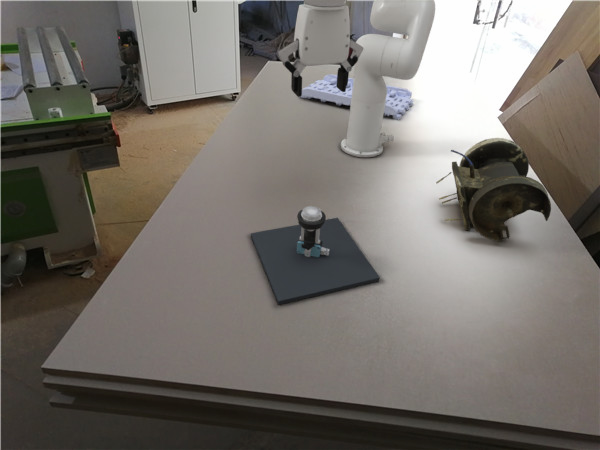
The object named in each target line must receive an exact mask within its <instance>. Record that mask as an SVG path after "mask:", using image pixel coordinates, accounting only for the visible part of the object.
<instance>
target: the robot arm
mask: <svg viewBox="0 0 600 450" xmlns="http://www.w3.org/2000/svg"><path fill="white" fill-rule="evenodd" d="M347 2H348V0H303V3H302V4H299V5H298V10H297V16H296V20H295V27H294V36H293V37H294V38H293V41H292V42H291V43H290V44H287V45H286V46H285V47H283V48H282V49H280V50H278V52H277V55H278V57H279V59H280V61H281V62H282V65H283V67H285V68H286V69H287V70H288V72H289V73H290V74H291V84H290V85H291V86H290V89H291V91H292V92H293V93H294V94H295V95H296V97H298V98H300V97H301V96H302V89H303V76H301V73H303V71H304V70H305V68H306V67H313V66H325V65H339V66H340V67H338V69H337V74H336V75H337V88H338V89H339V90H341V91H342V92H345V91H346V86H347V85H348V78H349V76H350V75H349V73H350V72H351V71H353V79H354V80H353V91H352V99H351V106H350V107H349V116H348V124H347V132H346V133H347V134H346V138H343V139H342V141H341V142H340V148H341V150H342V151H343V152H344V153H346V154H347V155H350V156H353V157H357V158H375V157H378V156H379V155H381V154H382V153H383V151H384V145H383V144H385V143H390V142H393V141H394V140H395V137H394V135H393V134H386V132H381V131H382V127H383V126H382V125H383V119H384V115H385V113H384V108H385V102H386V97H387V87H386V85H387V84H386V82H385V79H384V78H385V77H386V78H390V79H396V80H401V81H409V80H412V79H413V78H414V77H416V75H417V73H418V72H419V69H420V67H421V63H422V60H423V56H424V54H425V50H426V47H427V43H428V40H429V37H430V34H431V31H432V28H433V24H434V20H435V15H436V1H435V0H373V3H372V7H371V10H370V16H369V22H370V25H371V27H372V28H373V29H374V30H376V31H379V32H385V33H391V34H396V35H404V36H407V38H403V37H397V36H396V37H395V36H390V35H385V34H378V33H366V34H364V35H362V36H360V37H359V38H358V39H357V40H356V41H354V40H352V39H351V22H350V11H349V10H350V9H349V6H348V5H346V4H347ZM350 49H352V53H351V54H350V55H349V53H350ZM292 54H293V57H294V59H295V60H294V61H293V63H291V61H290V58H289V57H290V56H291V55H292Z"/></svg>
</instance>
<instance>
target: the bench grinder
mask: <svg viewBox="0 0 600 450" xmlns="http://www.w3.org/2000/svg"><path fill="white" fill-rule="evenodd" d="M450 152H451V153H455V154H457V155H459V156H462V157H461V160H460V163H459V165H458V162H457V161H451V170H452V171H450V172H449V173H448V174H446V175H445V176H444V177H442V178H440V179H438V180H437V181H436V185H437V184H439V183H440V182H442V181H443V180H444V179H445V178H447V177H448V176H449V175H451V174H452V175H453V177H454V183H455V184H454V185H455V188H456V189H455V190H456V192H455V193H452V194H448V195H445V196H441V197H438V200H444V199H446V198H448V197H451V196H454V195H456V197H454V198H450V199H446V200H444V201H441V204H445V203H448V202H451V201H453V200H456V199H457V201H458V205H459V209H460V214H461V218H444V221H448V222H452V221H462V223H463V226H464V230H465V231H468V230H471V224H472V226H473V229H474V230H475V231H476V232H477V233H478V234H479V235H481V236H482V237H484V238H485V239H487V240H491V241H495V242H500V243H501V242H503V240H509V239H510V231H509V226H507V225H505V223H507V222H508V221H509V220H510V219H512V218H515V217H517V216H519V215H521V214H523V213H526V212H527V211H533V212H537V213H541V214H542V215H543V218H544V220H545V222H548V220H549V219H550V215H551V211H552V203H551V200H550V198H549V194H548V191H547V190H546V187H545V186H543V184H542V183H540V181H538V180H536V179H535V178H532V177H530V176H528V173H529V169H530V163H529V158H528V156H527V155H526V153H525V151H524V150H523V148H521V146H520V145H519V144H518V143H516V142H515V141H513V140H511V139H507V138H504V137H492V138H485V139H484V140H481V141H479V142H477V143H475V144H474V145H472V146H471V147H470V148H469V149H467V150H466V151H465V153H461V152H459V151H456V150H454V149H451V150H450ZM504 231H505V235H504ZM505 236H506V237H505Z"/></svg>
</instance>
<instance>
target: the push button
mask: <svg viewBox="0 0 600 450" xmlns="http://www.w3.org/2000/svg"><path fill="white" fill-rule="evenodd" d="M296 216H297V217H296V218H297V221H298V225H301V226H302V227H301V236H300V238H299V240H298V243H297V253H301V254H305V256H307V257H310V256H315V257H319V256H320V254H321V255H323V254H324V255H329V253H328V252H329V249H326V248H324V247H322V243H323V242H322V241H321V240H319V235H320V228H321V227H322V226H323V224H324V222H325V220H327V215H326V213H325V212H324V211H323V210H321V209H320V208H319V207H317V206H314V205H313V206H311V205H309V206H306V207H304V208H303V209H301V210H299V211H298V213H297V215H296ZM305 229H306V232H305ZM315 231H316V232H315ZM326 250H327V251H326ZM324 251H326V252H324ZM325 253H327V254H325Z"/></svg>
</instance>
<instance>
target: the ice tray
mask: <svg viewBox="0 0 600 450" xmlns="http://www.w3.org/2000/svg"><path fill="white" fill-rule="evenodd" d="M353 80H354V77H348V85H347V86H346V91H345V92H342V91H341V90H339V89H338V88H337V74H333V73H330V74H326V75H324V77H323V79H321V80H320V79H317V80H315V81H314V83H310V84H308V86H305V87H302V96H301V97H299V98H300V99H308V100H310V99H313V98H314V99H318V100H320V101H321V103H322V102H323V103H326V102H332V103H335V104H336V106H341V105H345V106H350V107H351V99H352V91H353ZM386 87H387V97H386V102H385V108H384V117H386V116H387V117H389V116H392V119H395V120H398V121H400V120H401V118H402V116H404V115H405V114H406V112H407V111H409V109H410V107H412V106H413V104H414V100H413V98H412V95H413V92H412V91H410V90H409V89H408V88H403V87H399V86H393V85H387V84H386Z"/></svg>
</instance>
